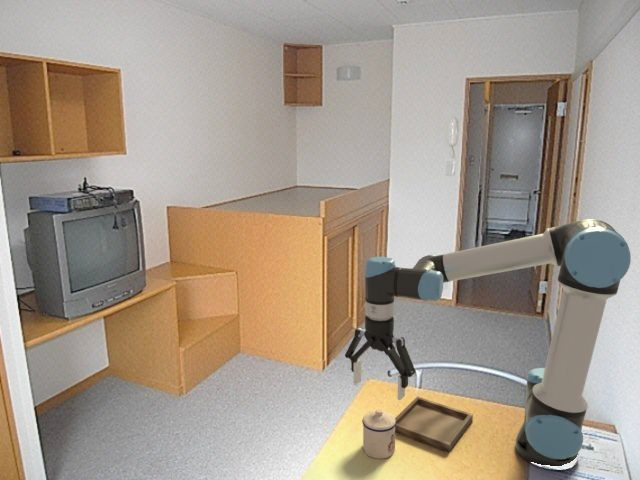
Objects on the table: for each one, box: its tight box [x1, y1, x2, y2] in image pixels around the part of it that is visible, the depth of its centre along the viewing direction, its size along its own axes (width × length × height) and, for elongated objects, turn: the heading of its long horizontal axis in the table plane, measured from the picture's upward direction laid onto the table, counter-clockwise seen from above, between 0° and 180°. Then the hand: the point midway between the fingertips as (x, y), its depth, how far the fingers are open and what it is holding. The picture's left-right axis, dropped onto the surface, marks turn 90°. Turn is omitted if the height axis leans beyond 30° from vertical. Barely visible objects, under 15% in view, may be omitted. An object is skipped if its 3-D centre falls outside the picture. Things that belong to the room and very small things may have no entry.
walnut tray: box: [394, 396, 474, 454], centre depth 142 cm, size 18×18×2 cm
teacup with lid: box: [361, 408, 396, 460], centre depth 132 cm, size 12×9×12 cm
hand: (378, 390), depth 130 cm, fingers open, 13 cm apart
